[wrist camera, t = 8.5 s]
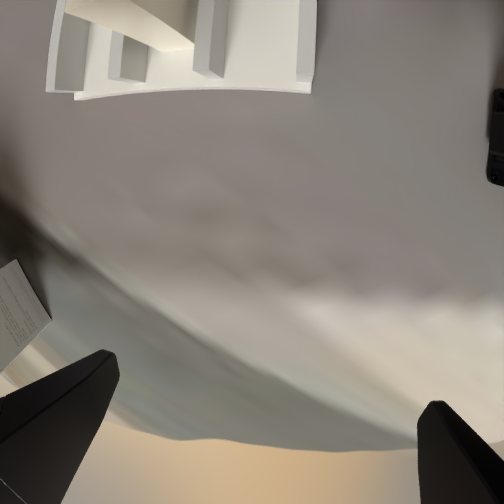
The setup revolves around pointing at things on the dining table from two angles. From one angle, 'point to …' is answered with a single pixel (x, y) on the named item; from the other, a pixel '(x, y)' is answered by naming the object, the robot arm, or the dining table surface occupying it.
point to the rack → (190, 52)
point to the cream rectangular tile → (143, 19)
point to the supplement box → (18, 313)
